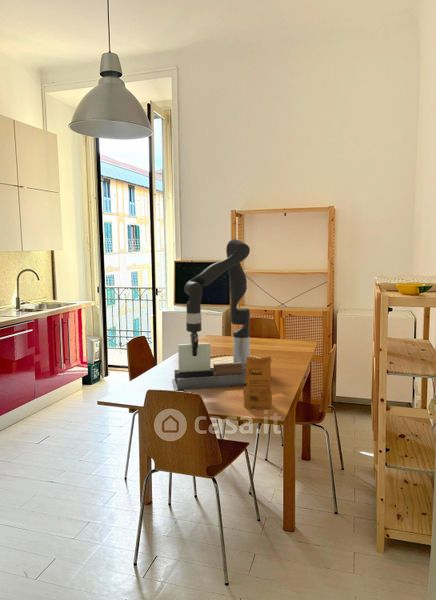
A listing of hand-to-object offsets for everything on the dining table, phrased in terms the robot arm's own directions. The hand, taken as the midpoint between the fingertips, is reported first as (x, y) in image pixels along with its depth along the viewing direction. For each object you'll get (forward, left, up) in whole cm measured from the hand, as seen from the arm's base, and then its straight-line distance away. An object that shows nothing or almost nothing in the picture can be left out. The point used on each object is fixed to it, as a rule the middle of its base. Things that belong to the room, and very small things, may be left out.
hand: (194, 355), depth 241 cm
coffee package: (+38, +23, -15) cm, 47 cm away
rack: (+5, +8, -14) cm, 17 cm away
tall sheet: (0, 0, -12) cm, 12 cm away
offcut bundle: (+7, +16, -13) cm, 22 cm away
